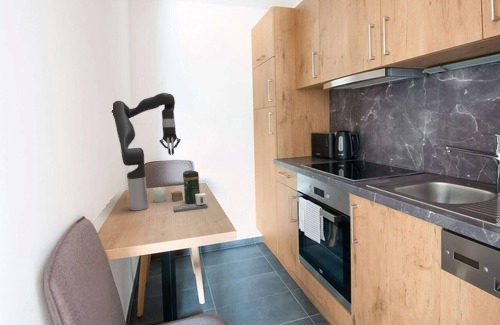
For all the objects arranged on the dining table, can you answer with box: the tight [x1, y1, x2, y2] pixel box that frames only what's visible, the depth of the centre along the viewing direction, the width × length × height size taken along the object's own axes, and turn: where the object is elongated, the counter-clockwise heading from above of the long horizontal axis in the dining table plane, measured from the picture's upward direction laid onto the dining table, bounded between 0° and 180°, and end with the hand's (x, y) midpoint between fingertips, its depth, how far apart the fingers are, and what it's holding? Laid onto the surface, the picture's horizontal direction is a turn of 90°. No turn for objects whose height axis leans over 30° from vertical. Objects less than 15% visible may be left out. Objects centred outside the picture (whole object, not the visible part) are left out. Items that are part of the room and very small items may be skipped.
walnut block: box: [171, 190, 184, 203], centre depth 171 cm, size 5×5×5 cm
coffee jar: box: [182, 169, 200, 204], centre depth 164 cm, size 10×8×19 cm
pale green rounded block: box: [152, 186, 167, 204], centre depth 171 cm, size 7×7×8 cm
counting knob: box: [195, 192, 208, 205], centre depth 152 cm, size 6×5×5 cm
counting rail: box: [172, 203, 208, 213], centre depth 151 cm, size 8×17×2 cm, turn 108°
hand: (171, 154), depth 175 cm, fingers closed
